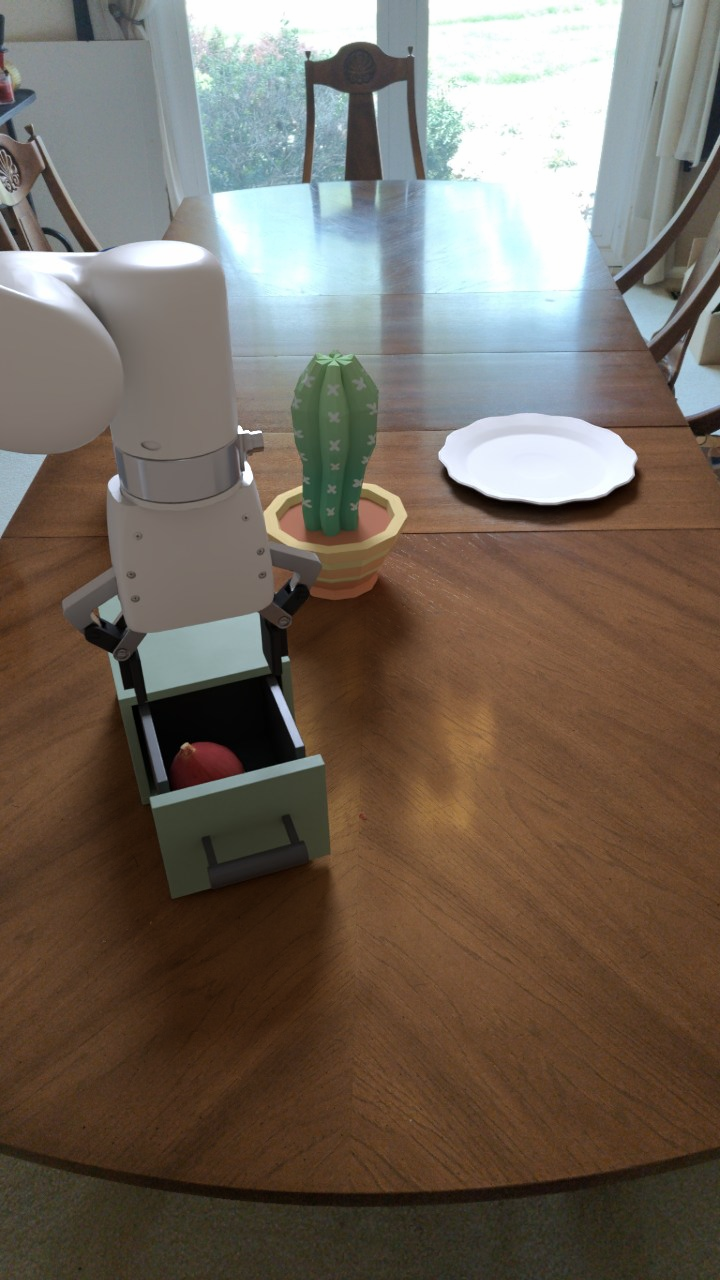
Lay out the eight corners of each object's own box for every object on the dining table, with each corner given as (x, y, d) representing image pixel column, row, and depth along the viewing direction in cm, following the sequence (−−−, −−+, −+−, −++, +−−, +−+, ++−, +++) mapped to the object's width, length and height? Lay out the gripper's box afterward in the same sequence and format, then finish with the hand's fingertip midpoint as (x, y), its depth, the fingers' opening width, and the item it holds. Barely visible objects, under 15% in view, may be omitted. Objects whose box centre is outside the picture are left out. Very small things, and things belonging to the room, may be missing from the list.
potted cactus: (433, 564, 110) (438, 348, 95) (355, 634, 100) (347, 405, 85) (322, 527, 117) (310, 320, 102) (239, 589, 107) (213, 369, 92)
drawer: (348, 898, 73) (344, 807, 67) (183, 946, 70) (162, 856, 64) (282, 734, 87) (273, 647, 81) (141, 769, 84) (122, 681, 78)
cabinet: (299, 765, 86) (290, 660, 79) (142, 805, 82) (118, 700, 75) (255, 659, 98) (244, 560, 90) (117, 691, 94) (94, 591, 87)
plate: (418, 501, 122) (419, 487, 120) (462, 417, 140) (463, 404, 139) (625, 528, 115) (627, 514, 114) (642, 436, 134) (644, 423, 133)
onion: (186, 840, 78) (135, 779, 73) (208, 782, 82) (162, 719, 77) (249, 837, 75) (202, 774, 70) (269, 777, 79) (225, 713, 74)
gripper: (299, 416, 65) (308, 625, 75) (29, 455, 60) (78, 672, 71) (333, 465, 59) (338, 684, 70) (38, 513, 55) (90, 739, 65)
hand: (207, 678), depth 70 cm, fingers open, 9 cm apart
